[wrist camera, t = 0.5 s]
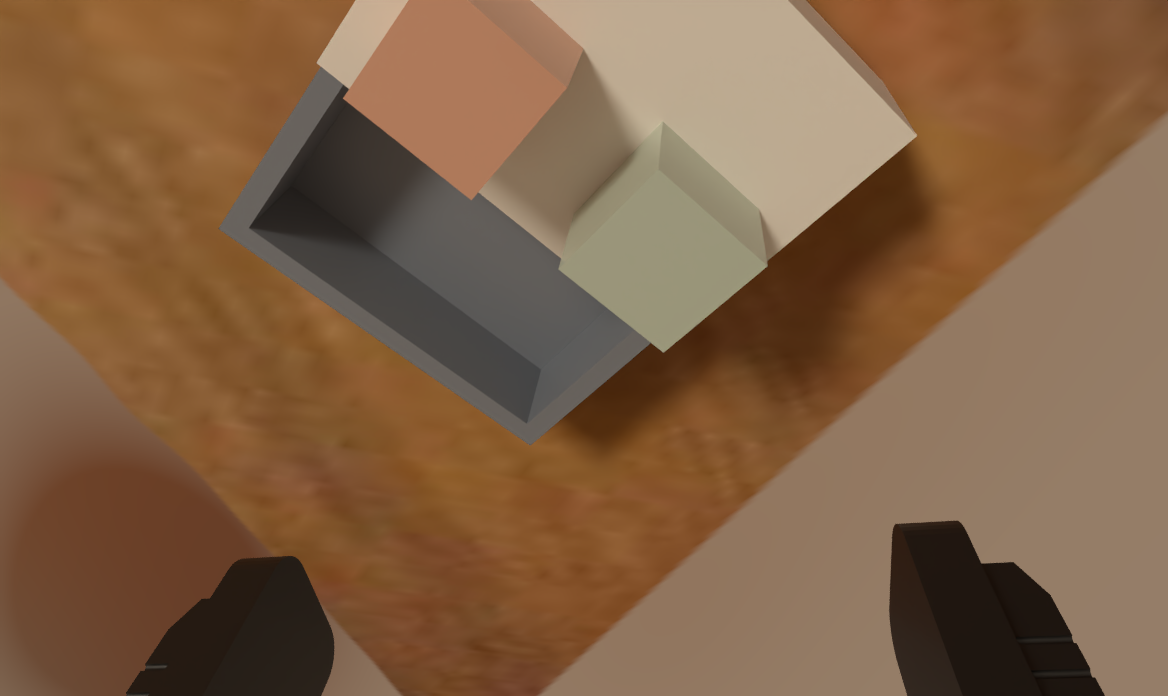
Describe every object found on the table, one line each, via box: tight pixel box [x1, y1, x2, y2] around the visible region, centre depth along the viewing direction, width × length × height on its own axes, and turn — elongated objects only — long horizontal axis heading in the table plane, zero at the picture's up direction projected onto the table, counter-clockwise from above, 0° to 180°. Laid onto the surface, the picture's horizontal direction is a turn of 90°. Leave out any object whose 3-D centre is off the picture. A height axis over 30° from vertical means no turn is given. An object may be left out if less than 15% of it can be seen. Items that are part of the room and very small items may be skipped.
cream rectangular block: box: [317, 0, 917, 261], centre depth 25 cm, size 10×14×5 cm
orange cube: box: [343, 0, 583, 200], centre depth 21 cm, size 4×4×4 cm
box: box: [219, 67, 651, 445], centre depth 29 cm, size 8×14×4 cm, turn 50°
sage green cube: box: [559, 121, 768, 353], centre depth 23 cm, size 4×4×4 cm
